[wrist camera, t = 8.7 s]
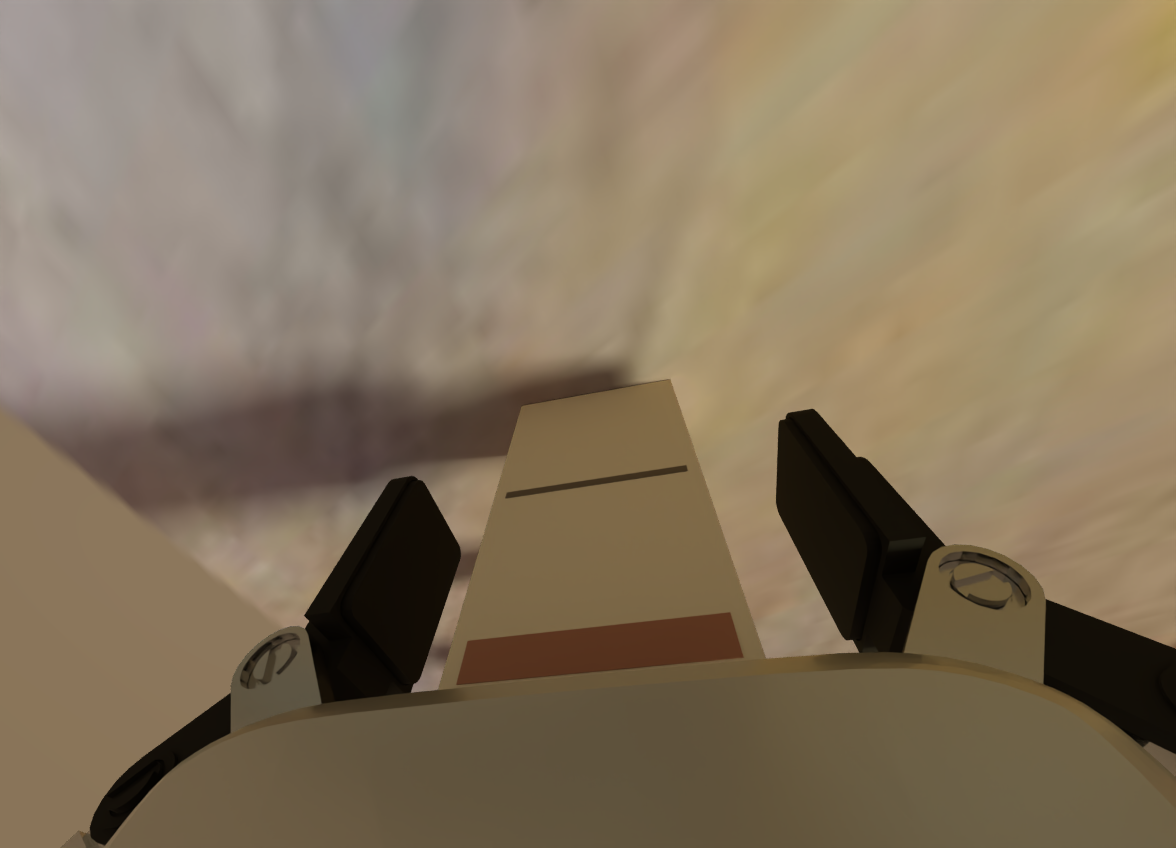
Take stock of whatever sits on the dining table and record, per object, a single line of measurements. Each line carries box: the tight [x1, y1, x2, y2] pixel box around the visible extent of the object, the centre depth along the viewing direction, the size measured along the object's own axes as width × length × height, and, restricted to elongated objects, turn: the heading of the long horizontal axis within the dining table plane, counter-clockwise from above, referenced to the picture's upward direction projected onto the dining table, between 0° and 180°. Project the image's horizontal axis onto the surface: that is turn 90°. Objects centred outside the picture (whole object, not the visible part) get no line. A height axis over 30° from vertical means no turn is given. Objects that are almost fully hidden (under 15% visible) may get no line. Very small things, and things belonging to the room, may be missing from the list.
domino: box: [438, 380, 766, 690], centre depth 10 cm, size 2×5×9 cm, turn 102°
